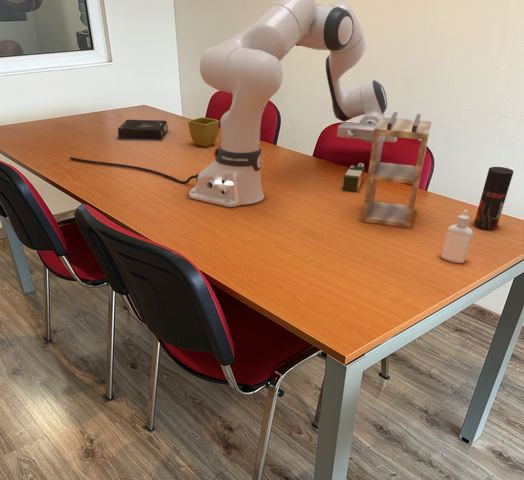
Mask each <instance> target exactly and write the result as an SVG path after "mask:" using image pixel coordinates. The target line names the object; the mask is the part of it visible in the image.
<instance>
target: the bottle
mask: <svg viewBox="0 0 524 480" xmlns="http://www.w3.org/2000/svg"><path fill="white" fill-rule="evenodd" d="M364 173H365V164H364V163H362V162H359V163H358V164H357V165H350V167H349V168H348V169H347V171H346V173H345V174H344V176H343V184H342V191H346V192H347V191H348V192H355V193H357V192H358V190H359V189H360V187H361V185H362V182H363V180H364V175H365V174H364Z"/></svg>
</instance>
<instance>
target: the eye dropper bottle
mask: <svg viewBox="0 0 524 480" xmlns="http://www.w3.org/2000/svg"><path fill="white" fill-rule="evenodd" d="M469 221H470V216H469V215H468V210H467V209H466V210H463V212H462V214H459V215H458V216H457V220H456V224H451V225H449V226H448V228H447V230H446V233H445V237H444V241H443V245H442V250H441V254H440V258H441V259H443V260H444V261H447V262H451V263H455V264H464V263H465V262H466V261H467V257H468V254H469V250H470V246H471V243H472V239H473V235H474V231H473V229H472V228H470V227H469V226H468V225H469Z"/></svg>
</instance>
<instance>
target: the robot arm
mask: <svg viewBox="0 0 524 480" xmlns="http://www.w3.org/2000/svg"><path fill="white" fill-rule="evenodd" d="M295 46H297V47H303V48H306V49H307V48H308V49H312V50H315V51H329V54H328V56H327V57H326V58H325V73H326V80H327V84H328V89H329V93H330V96H331V97H330V99H331V102H332V103H331V104H332V105H331V106H332V111H333V115H334V117H335V118H336V119H337V120H339V121H341V122H342V123H340V124H339V125H338V126H337V130H336V136H337V137H338V138H344V139H347V140H353V139H354V140H361V141H362V142H364V143H371V144H372V143H373V136H374V129H375V127H376V126H377V124H378V122H379V121H380V119H381V118H382V117H385V118H388V116H387V112H386V111H387V108H388V99H387V93H386V91H385V88H384V86H383V85H382V84H381V83H380V82H378V81H377V80H375V79H374V80H370V81H367V82H364V83H362V84H359V85H356V86H353V87H350V88H346V89H345V88H344V89H343V86H342V81H341V78H342V76H344V75H345V74H346V73H347V72H348V71H350V70H351V69H353V68H354V67H355V66H357V64H358V63H360V61H361V60H362V58H363V56H364V54H365V51H366V38H365V34H364V31H363V27H362V25H361V22H360V20H359V18H358V16H357V14H356V12H355V10H354V9H353V8H352V6H351V4H350V3H348V2H347V1H346V0H345V1H344V0H336V1H334V2H331V3H330V4H328V5H327V4H321V3H316V0H276V1H275V2H274V3H273V4H272V5H271V6H270V7H269V8H268V9H267V10H266V11H265V12H264V13H263V14H262V15H261V16H260V17H259V18H258V19H257V20H256V21H255V22H254V23H253V24H252V25H250V26H248V27H247V28H246V29H244V30H242V31H240V32H238V33H237V34H236V35H233V36H232V37H230V38H229V39H227V40H226V41H224V42H222V43H220V44H217V45H214V46H211V47H208V48H207V49H206V50H205V51H204V52H203V53H202V55H201V58H200V61H199V72H200V76H201V79H202V80H203V82H204V83H205V84H206V85H208V86H210V87H211V88H212V89H215V90H216V91H219V92H223V93H228V94H232V101H231V105H230V107H229V110H226V111H225V112H224V113H223V115H222V116H221V118H220V120H219V128H220V144H219V145H217V147H216V148H215V149H214V151H213V152H212V157H215V159H214V160H213V161H212V162H211V163H209V164H208V165H207V166H206V167H205V168H203V169H202V170H201V171H200V172H199V173H196V174H195V175H191V176H189V177H187V179H186V180H180V179H178V178H176V177H174V176H172V175H168V174H166V173H163V172H160V171H156V170H153V169H149V168H145V167H140V166H136V165H128V164H121V163H114V162H106V161H97V160H90V159H83V158H77V157H74V156H70V157H69V159H70V160H72V161H77V162H83V163H89V164H97V165H103V166H112V167H113V166H114V167H119V168H120V167H121V168H129V169H135V170H139V171H144V172H148V173H152V174H156V175H159V176H162V177H164V178H167V179H170V180H172V181H174V182H176V183H178V184H183V185H184V184H185V185H186V184H189V182H190V181H191V180H192V179H195V182H196V185H195V186H192V188H191V189H190V190H189V193H188V197H189V199H192V200H196V201H201V202H206V203H210V204H214V205H219V206H223V207H228V208H235V207H238V206H245V205H246V206H247V205H253V204H257V203H259V202H261V201H263V200H264V199H265V194H264V191H263V184H262V176H261V168H262V148H261V145H260V144H261V127H262V126H261V124H262V118H263V114H264V111H265V107H266V106H267V104H268V102H269V100H270V99H272V97H273V96H274V95H276V94H277V93H278V91H279V90H280V88H281V85H282V82H283V76H284V75H283V66H282V64H281V61H282V60H283V59H284V58H285V57H286V55H288V53H289V52H291V50H292V49H293V48H294V47H295ZM360 116H362V118H360V120H359V122H347V121H349V120H352V119H354V118H356V117H360ZM397 140H398V137H390V136H384V140H383V143H384V142H386V143H396V142H397Z"/></svg>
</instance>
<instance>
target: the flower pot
mask: <svg viewBox="0 0 524 480" xmlns="http://www.w3.org/2000/svg"><path fill="white" fill-rule="evenodd" d="M187 124H188V130H189V134H190V137H191V140H192V141H193V143H194V144H195V146H199V147H204V148H207V147H210V146H213V145H214V144H215V143H216V140H217V138H218V135H219V128H220V120H219V119H214V118H208V117H202V116H201V117H197V118H194V119H190V120H188V121H187Z"/></svg>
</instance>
